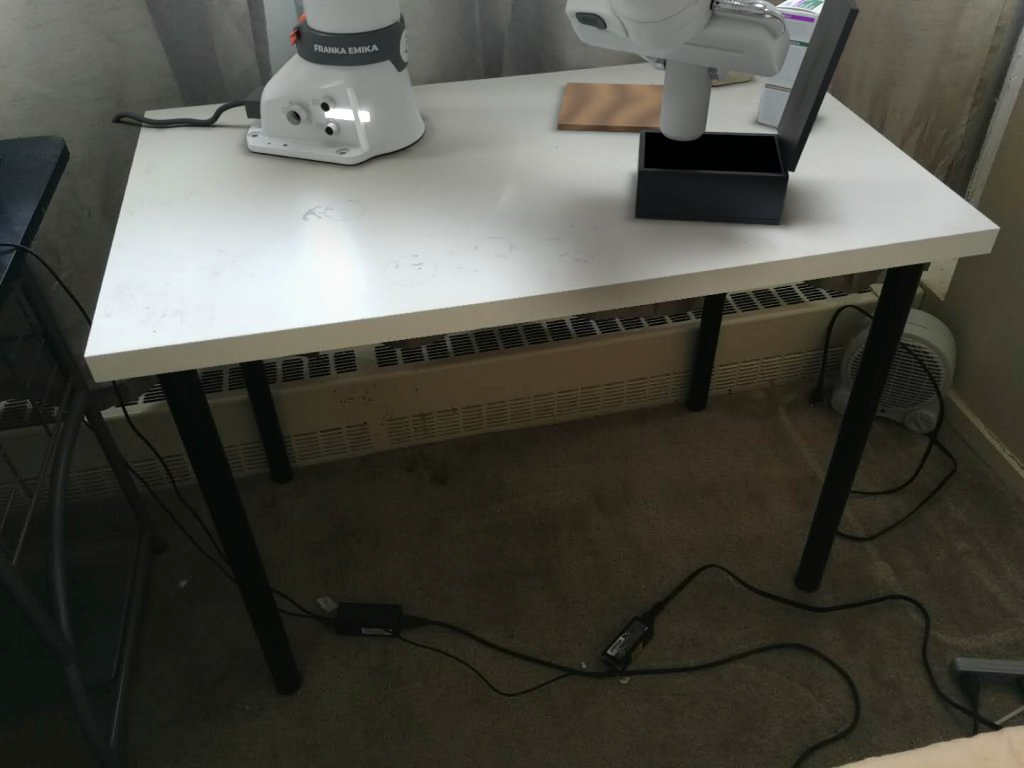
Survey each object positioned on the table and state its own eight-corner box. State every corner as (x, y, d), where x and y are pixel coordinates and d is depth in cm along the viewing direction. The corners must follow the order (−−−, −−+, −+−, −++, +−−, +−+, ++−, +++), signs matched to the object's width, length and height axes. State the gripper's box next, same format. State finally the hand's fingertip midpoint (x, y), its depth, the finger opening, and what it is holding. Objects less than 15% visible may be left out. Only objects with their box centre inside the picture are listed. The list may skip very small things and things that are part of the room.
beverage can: (665, 120, 93) (677, 5, 85) (709, 127, 92) (726, 10, 84) (653, 138, 90) (665, 19, 82) (699, 145, 88) (715, 25, 81)
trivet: (557, 129, 110) (557, 123, 110) (566, 87, 121) (566, 82, 120) (667, 133, 108) (668, 127, 108) (667, 90, 119) (668, 84, 119)
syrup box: (798, 133, 107) (822, 12, 98) (754, 122, 110) (773, 4, 101) (816, 118, 111) (841, -1, 101) (773, 108, 114) (793, -8, 104)
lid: (851, 8, 76) (859, 9, 76) (833, -25, 84) (841, -23, 84) (786, 171, 87) (794, 172, 87) (776, 128, 94) (783, 130, 94)
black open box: (634, 218, 92) (638, 170, 89) (636, 175, 100) (640, 129, 96) (779, 225, 90) (789, 176, 87) (770, 180, 98) (779, 133, 95)
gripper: (795, -27, 70) (804, 56, 83) (572, -56, 78) (611, 24, 91) (769, 45, 70) (781, 117, 83) (548, 9, 78) (591, 80, 91)
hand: (691, 68), depth 87 cm, fingers closed on beverage can, 5 cm apart
